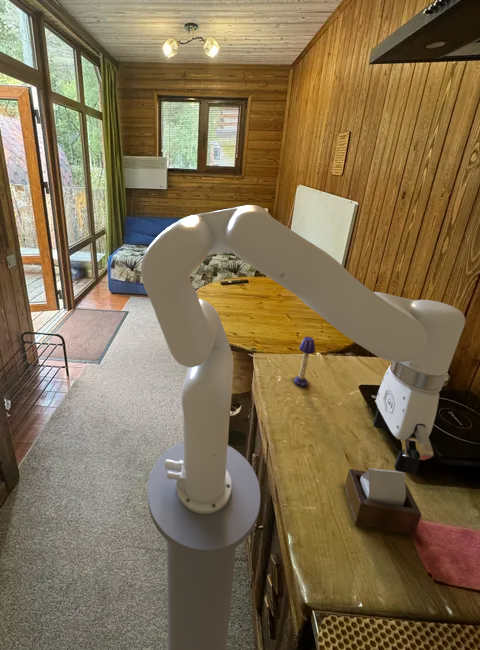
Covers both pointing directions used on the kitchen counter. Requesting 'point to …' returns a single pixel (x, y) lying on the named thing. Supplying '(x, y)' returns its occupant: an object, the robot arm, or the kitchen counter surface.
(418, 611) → the kitchen counter surface
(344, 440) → the kitchen counter surface
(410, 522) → the box
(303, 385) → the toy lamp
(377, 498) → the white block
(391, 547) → the kitchen counter surface
